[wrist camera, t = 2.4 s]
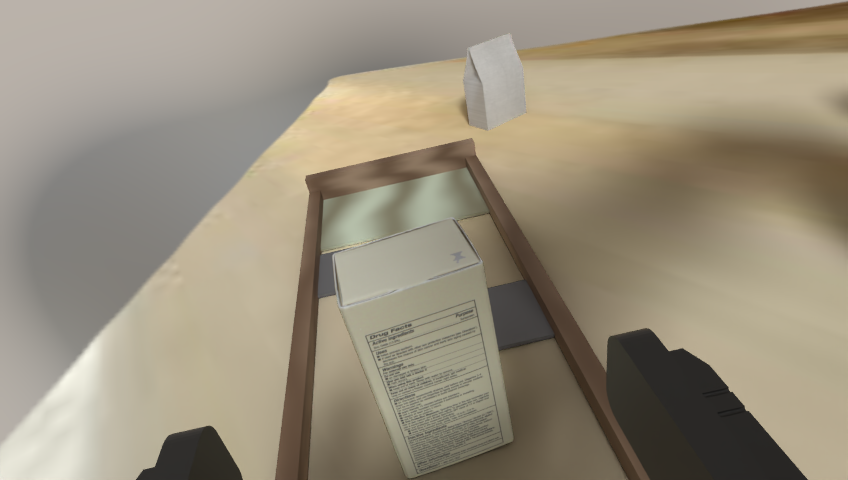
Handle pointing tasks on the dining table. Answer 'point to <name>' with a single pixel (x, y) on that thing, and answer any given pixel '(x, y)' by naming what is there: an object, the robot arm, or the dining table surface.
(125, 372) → the dining table surface
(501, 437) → the skincare box
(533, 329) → the pads
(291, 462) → the frame
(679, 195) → the dining table surface
